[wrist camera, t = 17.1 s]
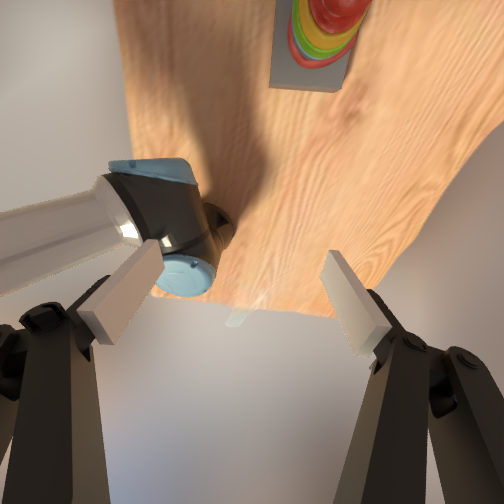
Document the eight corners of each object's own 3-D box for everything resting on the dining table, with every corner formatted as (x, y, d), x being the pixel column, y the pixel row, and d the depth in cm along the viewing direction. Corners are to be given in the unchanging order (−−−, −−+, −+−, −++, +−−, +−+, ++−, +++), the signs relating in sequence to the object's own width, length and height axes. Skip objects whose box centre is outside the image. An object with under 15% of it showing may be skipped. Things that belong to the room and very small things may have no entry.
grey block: (268, 87, 37) (270, 83, 33) (278, -30, 29) (281, -51, 26) (333, 92, 37) (341, 88, 33) (360, -23, 29) (373, -43, 26)
